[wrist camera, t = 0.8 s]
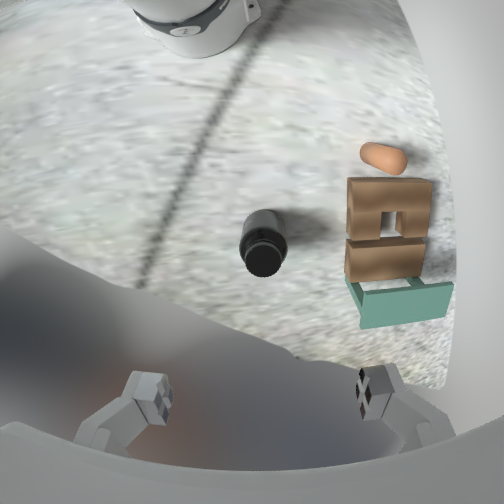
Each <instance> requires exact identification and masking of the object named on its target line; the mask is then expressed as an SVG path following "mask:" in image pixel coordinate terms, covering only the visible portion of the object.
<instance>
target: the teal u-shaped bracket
mask: <svg viewBox="0 0 504 504" xmlns="http://www.w3.org/2000/svg"><path fill="white" fill-rule="evenodd" d="M405 279H406V280H407V281H408V282H409V284H410V285H411V286H409V287H400V288H390V289H381V290H370V291H364V292H363V290H362V288H361V286H360V284H359V282H356V283H349V281H348V279H347V276H346V274H345V281H346V284H347V286H348V288H349V290H350V292H351V294H352V297H353V299H354V301H355V303H356V306H357V308H358V310H359V312H360V315H361V318H360V325H359V326H360V328H361V329H370V328H378V327H385V326H392V325H399V324H406V323H412V322H418V321H424V320H430V319H436V318H441V317H445V315H446V312H447V309H448V305H449V302H450V298H451V295H452V291H453V287H454V284H453V283H452V282H451V281H449V282H442V283H434V284H426V285H425V284H424V283H423V282H422V280H421V279H420V278H419V277H409V278H405Z"/></svg>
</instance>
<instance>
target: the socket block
mask: <svg viewBox="0 0 504 504" xmlns="http://www.w3.org/2000/svg"><path fill="white" fill-rule="evenodd" d="M431 197H432V183H431V182H429V181H426V180H424V179H422V178H389V177H355V178H347V227H346V232H347V233H348V235H349V236H350V238H351V239H346V251H345V268H344V272H345V274H346V276H347V279H348V281H349V283H356V282H367V281H379V280H389V279H399V278H409V277H419V276H421V271H422V266H423V260H424V254H425V247H426V244H425V243H424V242H423V241H422V240H421V239H420V238H418V237H427V234H428V226H429V217H430V208H431ZM395 211H397V213H396V225H395V230H396V231H397V232H398V233H400V234H401V235H402V236H400V237H380V229H381V214H382V212H395Z"/></svg>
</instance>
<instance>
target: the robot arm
mask: <svg viewBox="0 0 504 504" xmlns="http://www.w3.org/2000/svg"><path fill="white" fill-rule="evenodd" d="M24 1H27V0H0V11H1V10H3V9H5V8H8V7H10V6H13V5H15V4H18V3H21V2H24ZM119 1H121V2H122V3H124V4H126V5H128V6H129V7H131V8H132V9H133V10H134V12H135V14H136V15H137V19H138V21H139V22H140V23H141V24H142V25H143V33H144V34H145V35H146V36H147V37H149V38H152V39H155V40H158V41H159V42H160V43H161V44H162V45H163V46H164V47H165V48H166V49H167V50H169V51H170V52H172V53H174V54H176V55H178V56H181V57H186V58H204V57H209V56H212V55H215V54H218V53H220V52H222V51H224V50H225V49H227V48H228V47H230V46H231V45H232V44H233V43H234V42H235V41H236V40H237V39H238V38H239V37H240V35H241V34H242V32H243V31H244V29H245V28H246V27H247V26H248V25H249V24H251V23H253V22H254V21H256V20H257V19H258V18H259V17H260V16H261V9H260V7H259V4H258V1H257V0H119ZM250 5H252V6H254V7H253V8H249V6H250ZM359 376H360V379H359V380H358V381H357V383H356V397H357V401H358V402H359V403H361V406H360V412H361V417H362V420H363V421H366V420H373V419H379V418H381V419H382V420H383V422H385V423H386V424H387V425H388V426H389V427H390V428H391V429H392V430H393V431H394V432H395V433H396V434H397V435H398V436H399V437H400V438H401V439H402V440H403V441H405V442H406V443H405V444H404V446H403V447H402V449H401V450H400V452H399V453H398V454H396V455H392V456H388V457H383V458H379V459H374V460H369V461H364V462H358V463H352V464H346V465H339V466H332V467H323V468H314V469H304V470H303V469H302V470H289V471H223V470H207V469H197V468H187V467H178V466H172V465H164V464H158V463H153V462H147V461H141V460H137V459H132V458H131V457H130V455H129V454H128V453H127V452H126V450H125V449H124V448H125V447H126V446H127V445H128V444H129V443H130V442H131V441H132V440H133V439H134V438H135V437H136V436H137V435H138V434H139V433H140V432H142V430H143V429H145V428H146V427H147V426H148V424H158V425H166V424H167V420H168V417H169V412H168V410H167V409H168V408H170V407H171V406H172V402H173V390H172V388H171V386H170V385H169V384H168V377H167V375H166V374H159V373H149V372H140V371H133V372H132V373H131V375H130V378H129V380H128V382H127V384H126V386H125V389H124V391H123V393H122V396H121V397H117V398H116V399H115V400H113V401H112V402H110V403H109V404H107V405H106V406H105V407H103V408H102V409H100V410H99V411H97V412H96V413H95V414H93V415H92V416H90V417H89V418H88V419H86V420H85V421H83V422H82V423H81V426H80V428H79V430H78V432H77V434H76V436H75V438H74V441H73V443H72V442H69V441H67V440H64V439H61V438H58V437H55V436H53V435H50V434H47V433H45V432H42V431H40V430H37V429H35V428H33V427H30V426H28V425H26V424H23V423H21V422H18V421H14V422H11V423H9V424H7V425H5V426H3V427H1V428H0V504H504V415H503V416H501V417H499V418H497V419H495V420H493V421H491V422H489V423H486V424H484V425H482V426H480V427H477V428H475V429H473V430H470V431H468V432H465V433H463V434H460V435H457V436H456V434H455V432H454V430H453V427H452V425H451V423H450V420H449V418H448V416H447V414H445V413H444V412H442V411H441V410H439V409H437V408H436V407H435V406H433V405H432V404H430V403H429V402H427V401H426V400H424V399H423V398H421V397H420V396H418V395H417V394H415V393H414V392H413V391H411V390H406V387H405V385H404V382H403V380H402V378H401V375H400V373H399V371H398V369H397V366H396V364H394V363H391V364H385V365H378V366H371V367H365V368H361V369H360V371H359Z"/></svg>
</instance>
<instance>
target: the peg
mask: <svg viewBox="0 0 504 504" xmlns="http://www.w3.org/2000/svg"><path fill="white" fill-rule="evenodd" d="M360 157H361V159H362V160H363V161H364V162H365V163H367V164H369V165H371V166H373V167H376V168H378V169H380V170H382V171H384V172H387V173H389V174H391V175H400V174H401V173H403V172H404V170H405V169H406V166H407V158H406V156H405V154H404V153H403V152H402V151H401V150H399V149H396V148H392V147H388V146H384V145H380V144H375V143H371V142H368V143H365V144H364V145H363V146H362V147H361V149H360Z"/></svg>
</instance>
